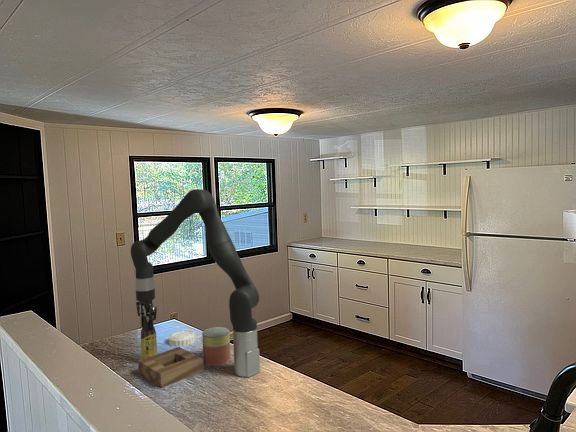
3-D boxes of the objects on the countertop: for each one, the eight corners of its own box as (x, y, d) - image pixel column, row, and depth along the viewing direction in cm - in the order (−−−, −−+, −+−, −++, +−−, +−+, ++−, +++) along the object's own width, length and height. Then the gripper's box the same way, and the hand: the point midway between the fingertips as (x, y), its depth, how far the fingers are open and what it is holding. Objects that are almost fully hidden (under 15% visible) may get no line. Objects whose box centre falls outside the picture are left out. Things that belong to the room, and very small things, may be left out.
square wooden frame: (203, 371, 167) (203, 358, 167) (161, 387, 155) (160, 374, 154) (179, 358, 180) (178, 346, 180) (138, 372, 168) (137, 360, 167)
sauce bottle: (147, 365, 173) (144, 318, 172) (138, 362, 177) (135, 315, 176) (160, 360, 179) (158, 313, 177) (151, 356, 182) (149, 311, 181)
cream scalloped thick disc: (200, 340, 201) (200, 332, 201) (181, 349, 191) (181, 341, 191) (182, 335, 208) (182, 328, 207) (163, 344, 197) (162, 336, 197)
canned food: (233, 354, 183) (232, 327, 182) (227, 365, 172) (225, 336, 171) (207, 354, 184) (206, 326, 183) (199, 365, 173) (198, 336, 172)
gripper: (162, 289, 173) (164, 330, 175) (145, 283, 183) (147, 322, 185) (144, 292, 168) (147, 335, 169) (128, 287, 178) (130, 326, 179)
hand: (147, 328), depth 177 cm, fingers closed on sauce bottle, 4 cm apart
